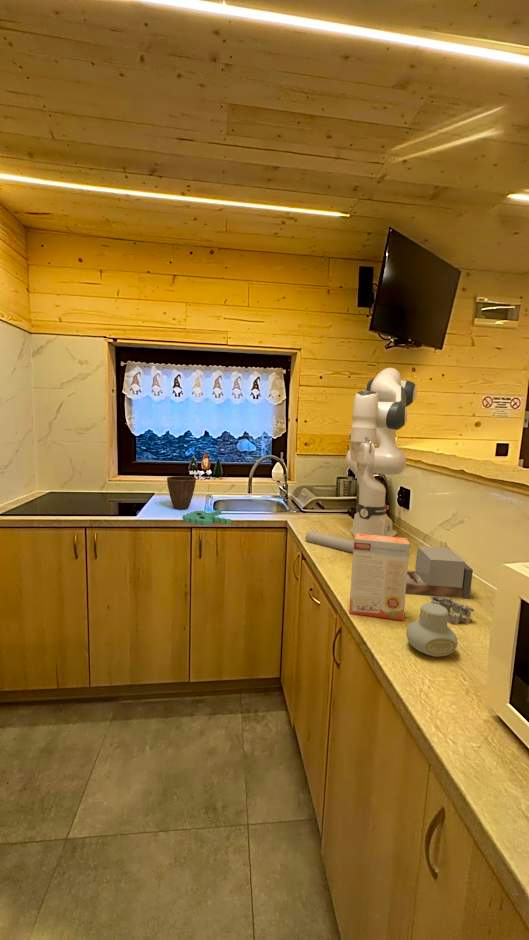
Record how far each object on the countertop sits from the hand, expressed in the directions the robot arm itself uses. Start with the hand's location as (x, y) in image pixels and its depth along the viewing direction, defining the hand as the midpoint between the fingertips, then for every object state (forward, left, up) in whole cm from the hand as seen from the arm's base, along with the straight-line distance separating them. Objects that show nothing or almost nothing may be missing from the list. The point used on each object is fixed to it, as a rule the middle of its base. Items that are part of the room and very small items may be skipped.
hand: (360, 475), depth 153 cm
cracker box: (+33, +27, -31) cm, 53 cm away
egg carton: (+19, +41, -32) cm, 55 cm away
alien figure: (+8, -77, -32) cm, 84 cm away
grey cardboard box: (+3, +32, -28) cm, 42 cm away
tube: (-5, -13, -32) cm, 35 cm away
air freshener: (+40, +45, -31) cm, 68 cm away
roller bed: (+5, +29, -31) cm, 43 cm away
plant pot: (+4, -102, -31) cm, 107 cm away
